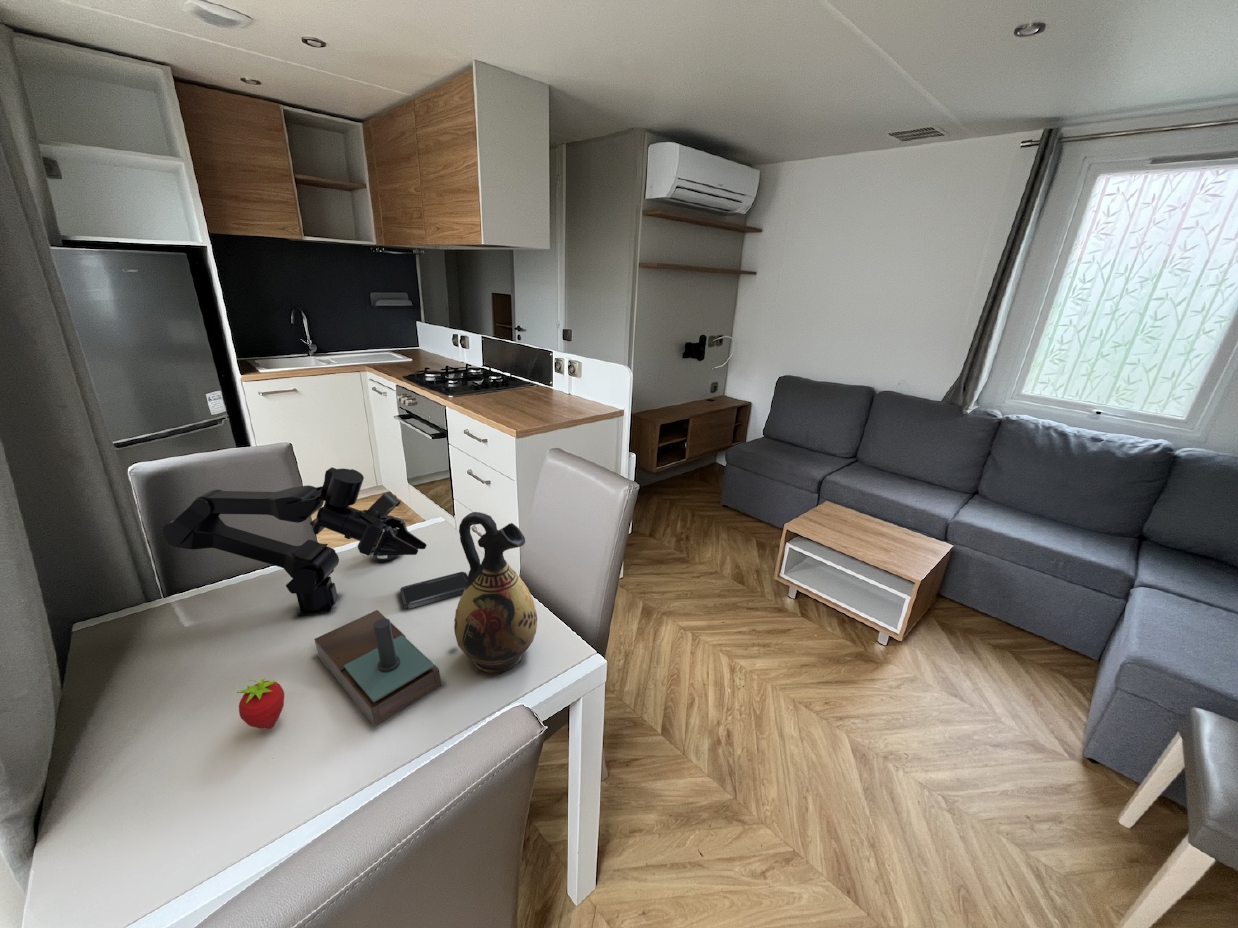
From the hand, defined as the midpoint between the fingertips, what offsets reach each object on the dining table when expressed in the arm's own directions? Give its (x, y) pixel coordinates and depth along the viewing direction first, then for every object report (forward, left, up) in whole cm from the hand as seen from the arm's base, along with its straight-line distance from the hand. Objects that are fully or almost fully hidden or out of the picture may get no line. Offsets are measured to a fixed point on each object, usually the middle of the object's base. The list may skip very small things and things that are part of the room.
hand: (421, 549), depth 105 cm
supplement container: (-13, +25, -15) cm, 32 cm away
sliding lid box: (-7, -18, -15) cm, 24 cm away
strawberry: (-22, -27, -15) cm, 38 cm away
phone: (+1, +6, -15) cm, 16 cm away
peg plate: (-4, -23, -10) cm, 25 cm away
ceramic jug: (+14, -18, -15) cm, 27 cm away
